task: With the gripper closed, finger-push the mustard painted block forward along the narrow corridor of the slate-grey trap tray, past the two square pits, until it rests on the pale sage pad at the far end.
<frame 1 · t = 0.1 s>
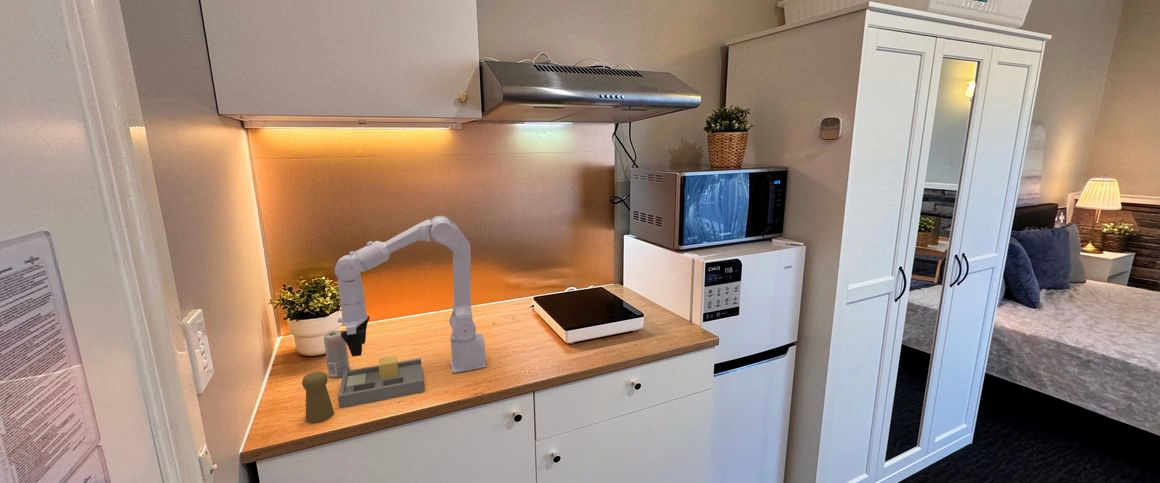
hand: (358, 349, 125), 10 cm above the countertop, fingers open, 7 cm apart
trap tray: (384, 386, 125), on the countertop
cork: (320, 416, 112), on the countertop
block: (389, 373, 128), point 2 cm above the countertop, touching trap tray
energy drink: (339, 374, 133), on the countertop
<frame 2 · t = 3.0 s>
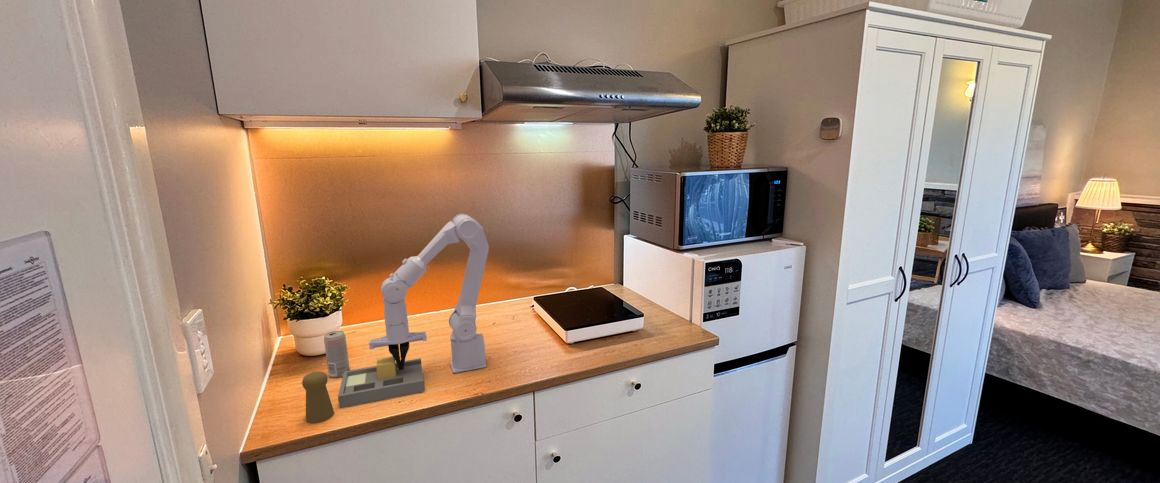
hand: (401, 368, 129), 3 cm above the countertop, fingers closed
block: (387, 374, 128), point 2 cm above the countertop, touching gripper
everything else where it was.
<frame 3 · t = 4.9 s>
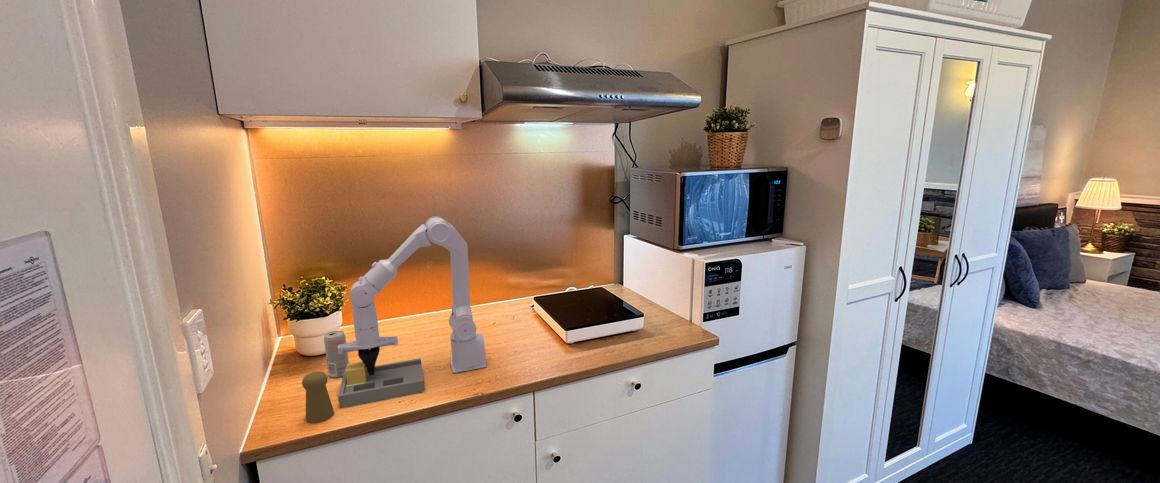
hand: (372, 373, 126), 3 cm above the countertop, fingers closed
block: (357, 379, 125), point 2 cm above the countertop, touching gripper, trap tray
everything else where it was.
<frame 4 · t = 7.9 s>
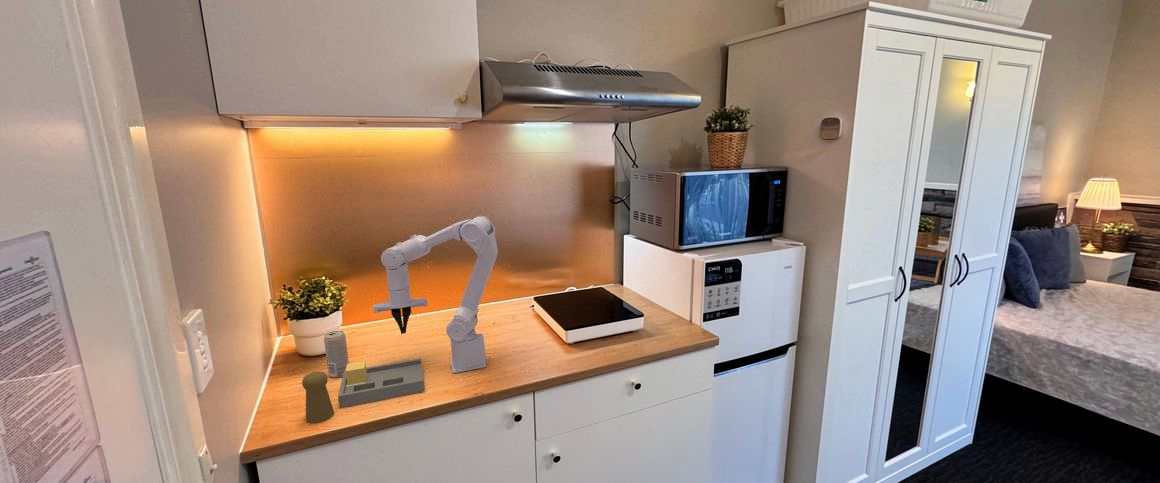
hand: (403, 332, 136), 10 cm above the countertop, fingers closed
block: (357, 379, 125), point 2 cm above the countertop, touching trap tray
everything else where it was.
at the end: block 0.3 cm from the target spot, point 2.0 cm above the countertop; block tilted 0° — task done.
